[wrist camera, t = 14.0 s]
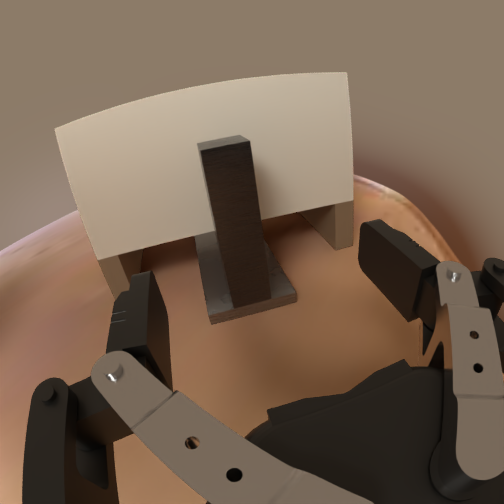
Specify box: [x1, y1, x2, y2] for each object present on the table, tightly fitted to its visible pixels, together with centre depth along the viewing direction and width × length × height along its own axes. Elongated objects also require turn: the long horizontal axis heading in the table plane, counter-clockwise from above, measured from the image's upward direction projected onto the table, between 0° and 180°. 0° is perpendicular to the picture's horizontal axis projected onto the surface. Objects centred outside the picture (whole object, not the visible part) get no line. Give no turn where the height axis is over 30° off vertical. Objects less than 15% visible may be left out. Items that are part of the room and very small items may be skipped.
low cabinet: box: [55, 72, 353, 300], centre depth 30 cm, size 14×24×17 cm, turn 104°
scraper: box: [194, 135, 297, 325], centre depth 29 cm, size 20×7×13 cm, turn 14°
